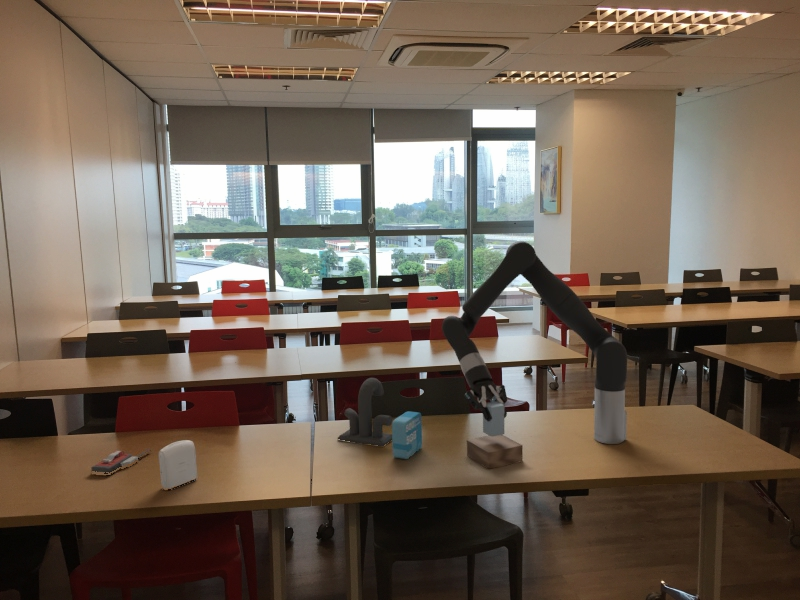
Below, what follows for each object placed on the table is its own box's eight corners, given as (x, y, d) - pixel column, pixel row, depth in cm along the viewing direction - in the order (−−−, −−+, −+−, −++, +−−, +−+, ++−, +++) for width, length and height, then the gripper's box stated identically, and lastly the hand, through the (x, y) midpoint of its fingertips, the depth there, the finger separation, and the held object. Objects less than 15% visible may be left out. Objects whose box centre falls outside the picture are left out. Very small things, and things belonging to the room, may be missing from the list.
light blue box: (405, 461, 188) (404, 423, 187) (392, 458, 190) (391, 421, 189) (422, 447, 199) (421, 411, 197) (409, 445, 201) (408, 409, 200)
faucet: (405, 431, 214) (403, 375, 212) (385, 447, 200) (383, 387, 198) (359, 425, 222) (357, 371, 219) (336, 440, 208) (334, 382, 205)
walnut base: (499, 448, 196) (499, 433, 196) (522, 461, 185) (522, 445, 185) (467, 455, 191) (466, 439, 191) (488, 469, 180) (488, 452, 180)
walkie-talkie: (113, 479, 182) (153, 454, 201) (112, 465, 181) (152, 441, 201) (87, 478, 184) (129, 452, 203) (85, 463, 183) (128, 439, 203)
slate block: (495, 429, 190) (495, 401, 189) (504, 434, 186) (504, 405, 185) (483, 432, 189) (482, 403, 187) (491, 436, 184) (491, 407, 183)
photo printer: (166, 492, 171) (163, 449, 170) (158, 488, 174) (155, 446, 172) (200, 480, 179) (196, 438, 177) (191, 476, 182) (188, 435, 180)
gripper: (459, 367, 188) (481, 416, 179) (499, 361, 194) (522, 408, 185) (451, 380, 194) (472, 428, 185) (489, 374, 200) (511, 420, 191)
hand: (497, 418), depth 185 cm, fingers closed on slate block, 4 cm apart
